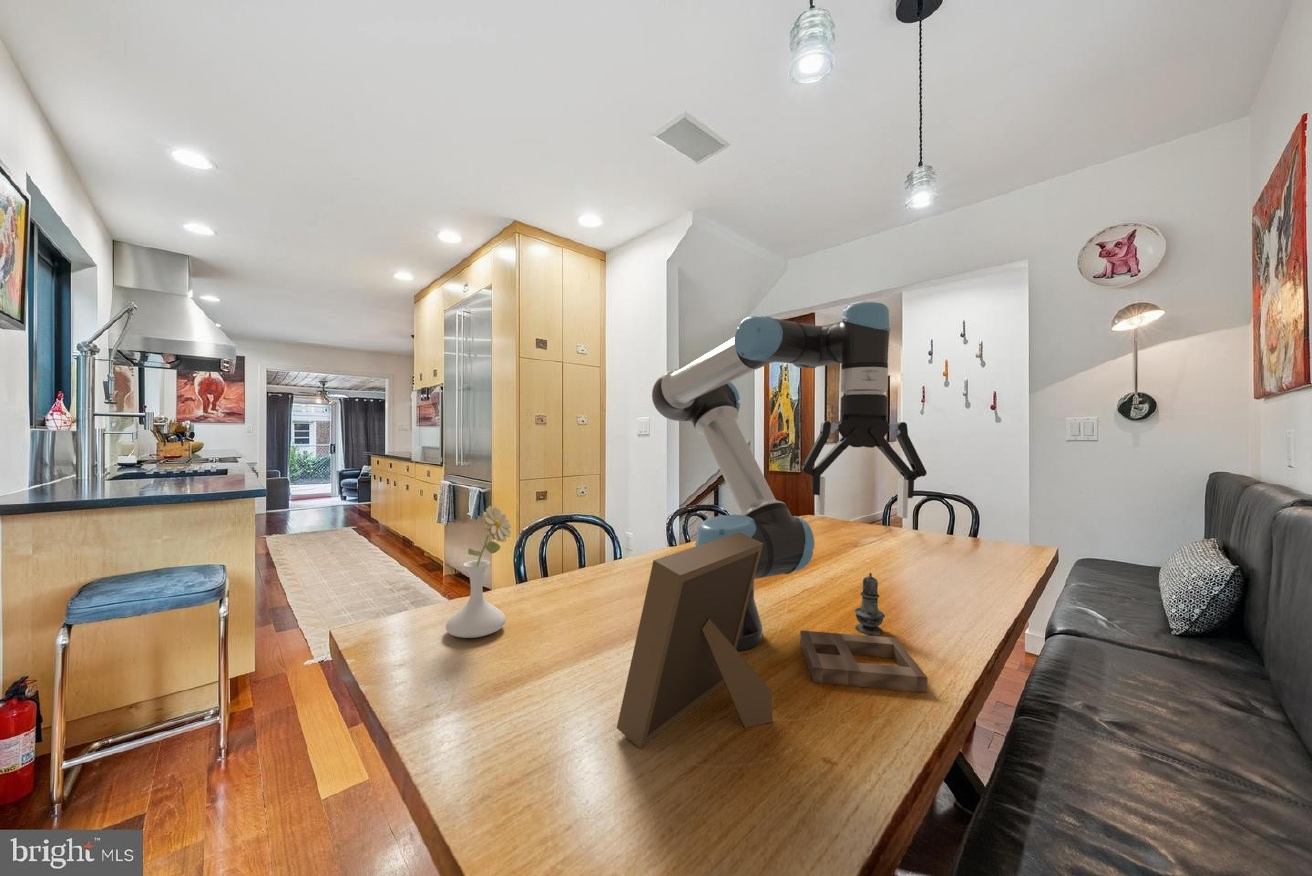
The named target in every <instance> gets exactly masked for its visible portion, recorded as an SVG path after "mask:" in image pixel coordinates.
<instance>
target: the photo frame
mask: <svg viewBox="0 0 1312 876" xmlns="http://www.w3.org/2000/svg"><path fill="white" fill-rule="evenodd" d="M763 544H764V543H762V542H759V541H757V540H755V539H753V538H751V537H749V536H746V535H744V534H742V533H737V534H733V535H730V536H727V537H724V538H721V539H718V540H715V541H712V542H708V543H705V544H702V545H699V546H693V547H690V548H687V549H684V550H681V551H677V552H675V553H672V554H671V553H670V554H668V555H665V556H662V557H659V558H656V559H653V561H652V565H651V571H650V575H649V579H648V584H647V588H646V593H645V597H644V601H643V607H642V612H641V616H640V619H639V624H638V629H637V634H636V639H635V642H634V648H633V651H632V652H633V653H632V655H631V656H632V657H631V660H630V665H629V670H628V673H627V674H628V675H627V679H626V685H625V689H624V693H623V696H622V697H623V698H622V702H621V707H620V712H619V715H618V720H617V725H616V729H617V730H618V731H619V732H620V733H622V734H623V735H624V736H625V737H626V738H627V740H630V742H632V743H633V744H634V745H635V746H636V747H637V748H638V749H640V750H641V749H643V748H644V747H645V746H646V745H648V744H649V743H650V742H651V741H653V740H654V739H655V738H657V737H658V736H659V735H660V734H663V732H664V731H666V730H667V729H668V728H669V727H670V726H672V725H673V724H675V723H676V722H677V721H678V720H680V719H681V718H683V717H684V716H685V715H686V714H688V713H689V712H690V711H692V710H693V709H694V708H695V707H697V706H698V705H699V704H701V703H702V702H703V701H705V700H706V699H707V698H708V697H710V696H711V695H713V694H714V692H716V691H718V690H719V689H721V687H723V686H724V685H725V687H726V689H727V691H728V693H729V696H730V698H731V701H732V702H733V705H734V708H735V710H736V712H737V714H738V716H739V719H740V721H741V724H742V726H743V727H744V728H745V729H747V728H752V727H756V726H760V725H764V724H770V723H773V722H774V721H773V720H774V719H773V705H772V693H771V692H772V691H771V690H772V689H771V688H770V687H769V686H768V685H767V684H766V682H764V680H763V679H762V678H761V677H760V676H759V674H757V672H756V671H755V670H754V669H753V667H752V666H751V665H750V664H749V663H748V662H747V661H746V660H745V659H744V657H743V656H742V655H741V654H740V652H739V651H737V650H736V647H737V643H738V639H739V635H740V631H741V627H742V624H743V620H744V616H745V612H746V608H747V605H748V601H749V597H750V593H751V589H752V585H753V582H754V583H755V579H754V578H755V574H756V570H757V566H758V563H759V559H760V555H761V551H762V547H763Z"/></svg>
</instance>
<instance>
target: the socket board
mask: <svg viewBox="0 0 1312 876" xmlns="http://www.w3.org/2000/svg"><path fill="white" fill-rule="evenodd" d="M799 634H800V636H799V637H800V638H799V644H800V647H801V650H802V654H803V656H804V659H805V660H804V661H805V663H806V666H807V668H808V672H809V674H810V677H811V680H812V683H817V684H827V685H837V686H838V685H839V686H847V687H849V686H851V687H860V688H861V687H862V688H872V689H881V690H882V689H883V690H893V691H906V692H913V693H914V692H915V693H926V694H927V693H928V676H927V675H926V674H925V672H924V671H923V669H922V668H920V666H919V665H918V664H917V662H916V661H915V660H914V658H913V657H912V656H911V655H910V653H909V652H908V650H906V648H905V647H904V646H903V644H902V643H901V642H900V641H899V639H898V638H897V637H890V636H880V635H867V634H864V635H863V634H851V633H838V632H827V631H826V632H823V631H814V630H813V631H812V630H811V631H810V630H800V633H799ZM854 655H856V656H868V657H881V658H891V659H893V660H894V662H895V663H896V664H897V665H891V664H889V665H888V664H878V663H877V664H876V663H867V662H866V663H865V662H857V661H856V659H855V657H854Z"/></svg>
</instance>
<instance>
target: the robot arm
mask: <svg viewBox="0 0 1312 876" xmlns="http://www.w3.org/2000/svg"><path fill="white" fill-rule="evenodd" d="M889 311H890V310H889V307H888V306H887V305H886V304H884V303H881V302H876V301H875V302H874V301H873V302H871V301H869V302H868V301H867V302H864V301H863V302H857V303H854V304H849V305H848V306H846V307H845V308H843V311H842V317H841V321H839V322H835V323H830V324H825V325H824V324H823V325H816V324H809V323H803V322H797V321H792V320H790V321H789V320H784V319H778V318H773V317H771V316H762V315H761V316H757V315H756V316H755V315H753V316H747V317H745V318H744V319H743V320H742V321H741V322H740V325H739V326H737V327H736V329H735V333H734V337H733V338H730V339H729V340H728V341H726V342H724V343H723V344H720V345H719V346H718V347H716V348H714V349H712V350H711V351H709V352H707V353H705V354H704V355H702V356H701V357H699V358H697V359H695V360H693V361H692V362H690V363H689V364H687V365H686V366H684V367H682V368H674V369H670V370H668V371H667V372H665V373H664V374H662V375H661V376H660V377H659V378H657V380H656V381H655V383H654V384H653V387H652V390H651V398H652V403H653V406H654V407H655V409H656V410H657V412H658V413H659V414H660V415H661V416H663V417H664V418H666V419H669V420H671V421H676V422H678V421H679V422H691V423H692V425H693V428H694V429H695V432H696V433H697V434H698V435H700V436H703V437H705V439H706V442H707V443H708V446H709V448H710V450H711V453H712V455H713V457H714V459H715V461H716V463H717V465H718V468H719V470H720V472H721V475H722V477H723V478H724V481H725V484H726V486H727V487H728V491H729V492H730V494H731V497H732V499H733V501H734V503H735V506H736V508H737V510H738V513H739V514H730V515H727V514H724V515H723V514H722V515H717V516H713V517H710V518H707V519H705V520H704V521H702V522H701V523H700V524H699V526H698V527H697V530H696V531H697V532H696V540H695V546H694V547H696V546H699V545H702V544H705V543H708V542H712V541H715V540H718V539H721V538H724V537H727V536H730V535H733V534H737V533H742V534H744V535H746V536H749V537H751V538H753V539H755V540H757V541H759V542H762V543H764V544H763V547H762V551H761V555H760V559H759V563H758V566H757V570H756V574H755V578H754V580H757V579H762V578H769V577H774V576H779V575H789V574H792V573H793V572H797V571H801V570H803V569H804V568H806V567H807V566H808V565H809V564H810V562H811V561H812V558H813V556H814V555H813V554H814V549H815V538H814V537H815V536H814V533H813V530H812V528H811V526H810V525H809V523H808V522H807V521H806V520H805V519H803V518H800V517H799V516H798V515H797V516H796V515H794V516H793V515H792V514H791V512H790V510H789V508H788V506H787V504H786V503H785V502H783V501H782V500H781V501H780V500H778V499H776V497H775V496H774V494H773V491H772V490H771V487H770V486H769V484H768V482H767V480H766V478H765V476H764V474H763V471H762V469H761V468H760V466H759V464H758V462H757V460H756V459H755V456H754V453H752V450H751V449H750V446H749V445H748V442H747V440H746V438H745V437H744V434H743V433H742V430H741V429H740V426H739V424H738V423H737V421H738V418H739V411H740V406H741V403H740V402H739V401H740V400H741V399H740V394H739V391H738V389H737V387H736V386H735V385H734V383H733V381H735V380H737V379H739V378H741V377H743V376H746V375H748V374H750V373H752V372H754V371H756V370H758V369H761V368H763V367H766V366H767V365H769V364H772V363H782V364H783V363H784V364H792V365H793V366H795V367H796V368H798V369H799V368H800V369H806V368H807V369H808V368H809V369H816V368H819V367H824V366H829V365H837V364H839V365H841V366H840V367H841V371H840V373H841V375H840V377H841V379H840V391H841V393H842V394H843V395H842V396H841V397H840V410H839V411H840V413H839V414H840V415H839V418H840V419H839V421H838V422H830V421H829V420H828V421H825V420H824V421H822V422H821V424H820V431H819V435H818V436H817V438H816V441H815V442H814V444H813V446H812V448H811V449H810V451H809V453H808V455H807V456H806V458H805V461H803V464H802V466H801V471H802V472H803V473H805V474H808V475H810V477H811V493H812V495H813V496H817V498H816V499H817V500H816V501H817V502H816V512H817V514H818V515H820V516H825V504H826V503H825V501H826V500H825V498H826V477H825V476H822V475H823V474H824V472H825V471H826V470H827V469H829V467H830V466H831V465H832V464H833V463H834V461H836V460H837V458H838V457H839V456H840V455H841V454H842V453H843V452H844V451H845V450H846V449H847V448H848V447H849V446H850V447H852V448H862V447H864V448H869V449H870V448H873V449H874V448H875V447H876V448H877V449H878V450H880V452H881V453H882V454H883V455H884V456H885V457H886V459H888V461H889V462H890V463H891V464H892V465H893V466H894V468H895V469H896V470H897V471H898V473H899V474H900V475H901V476H902V477H903V478H897V503H896V507H897V510H896V511H897V512H896V515H897V516H898V517H900V518H902V519H908V510H909V509H908V505H909V504H908V503H909V499H913V498H914V495H915V493H914V492H915V481H916V480H917V479H918V478H921V477H926V476H927V470H926V468H925V466H924V464H923V462H922V460H921V458H920V456H919V454H918V453H917V449H916V448H915V446H914V444H913V442H912V441H911V438H910V435H909V430H908V429H909V428H908V425H907V423H906V422H904V421H900V422H899V421H898V422H896V423H889V422H888V396H887V394H884V393H886V392H887V391H888V388H889V379H888V378H889V363H888V362H889V360H888V359H889V345H890V332H891V327H890V313H889ZM836 430H837V432H838V433H839V434H840V435H841V438H840V439H839V440H838V441H837V443H836V444H835V445H834V446H833V447H832V448H831V449H830V450H829V452H828V453H827V454H826V455H825V456H824V457H823V458H822V459H821V460H820V462H818V463H817V465H816V466H815V467H813V466H814V465H815V463H816V461H817V459H818V457H819V456H820V453H822V450H823V449H824V446H825V445H826V443H827V441H828V439H829V437H830V435H833V434H834V432H835V431H836ZM889 432H891V434H892V435H893V436H895V437H896V440H897V442H898V444H899V446H900V448H901V450H902V452H903V454H904V456H905V457H906V460H907V461H908V464H909V466H910V467H909V466H908V465H907V463H905V461H904V460H903V459H902V458H901V457H900V455H898V454H897V452H896V451H895V450H894V448H893V447H891V446H892V445H891V444H890V443H889V442H888V441H887V439H886V438H885V437H886V435H887V434H888V433H889ZM760 618H761V617H760V615H759V611H758V608H757V605H756V601H755V581H754V582H753V585H752V589H751V593H750V597H749V601H748V605H747V608H746V612H745V616H744V620H743V624H742V627H741V631H740V635H739V639H738V643H737V647H736V650H737V651H738V652H739V651H745V650H749V649H752V648H755V647H757V646H758V645H759V644H761V642H762V640H763V624H762V621H761V619H760Z"/></svg>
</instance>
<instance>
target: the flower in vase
mask: <svg viewBox="0 0 1312 876" xmlns="http://www.w3.org/2000/svg"><path fill="white" fill-rule="evenodd" d="M481 517H482V520H483V521H482V524H483V526H484V531H485V532H486V533H487V534H486V537H485V541H484V543H483V547H482V549H481V551H478V550H474V549H471V548H468V551H467V554H468V555H470V556H475V557H476V556H477V557H478V559H477V560H475V559H474V560H469V561H466V562H464V563H463V567H464V568H465V569H466V571H467V573H468V577H469V582H470V594H469V595H470V596H469V599H468V601H467V602H466V604H464V605H463V606H462V607H461V608H459V609H458V610H457V611H455V612H454V614H452V616H451V617H450V618H449V619H448V620H447V621H446V624H445V630H446V632H448V633H449V635H452V636H453V637H457V638H463V639H465V638H466V639H468V638H469V639H472V638H474V639H475V638H481V637H485V636H488V635H491V634H493V633H495V632H498V631H499V630H501V628H503V627H504V625H505V624H506V621H507V618H506V616H505V614H504V613H503V611H501V610H500V609H499V608H497V607H496V606H494V605H493V604H491V603H489V602H488V601H487V600H486V599H485V597H484V594H483V591H484V590H483V583H484V577H485V572H486V570H487V569H488V567H489V565H490V564H491V562H490V561H489V560H486V559H481V558H482V556H483V553H484V551H485V549H486V550H487V551H488V552H489V553H490V554H496V553H497V552H498V551H500V550H501V548H502V547H501V545H500V544H499V542H501V543H504V542H505V543H506V541H507V538H510V537H511V534H512V531H511V530H510V529H511V528H512V524H510V521H509V519H508V518H507V515H506V513H503V512H502V510H501V509H500V508H498V507H497V506H495V505H494V506H493V508H492V506H491V505H488V507H487V508H486V509H485V511H484V512H483V513H482V516H481ZM489 537H490V538H491V540H489V541H488V539H489ZM496 541H497V542H496Z"/></svg>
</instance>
